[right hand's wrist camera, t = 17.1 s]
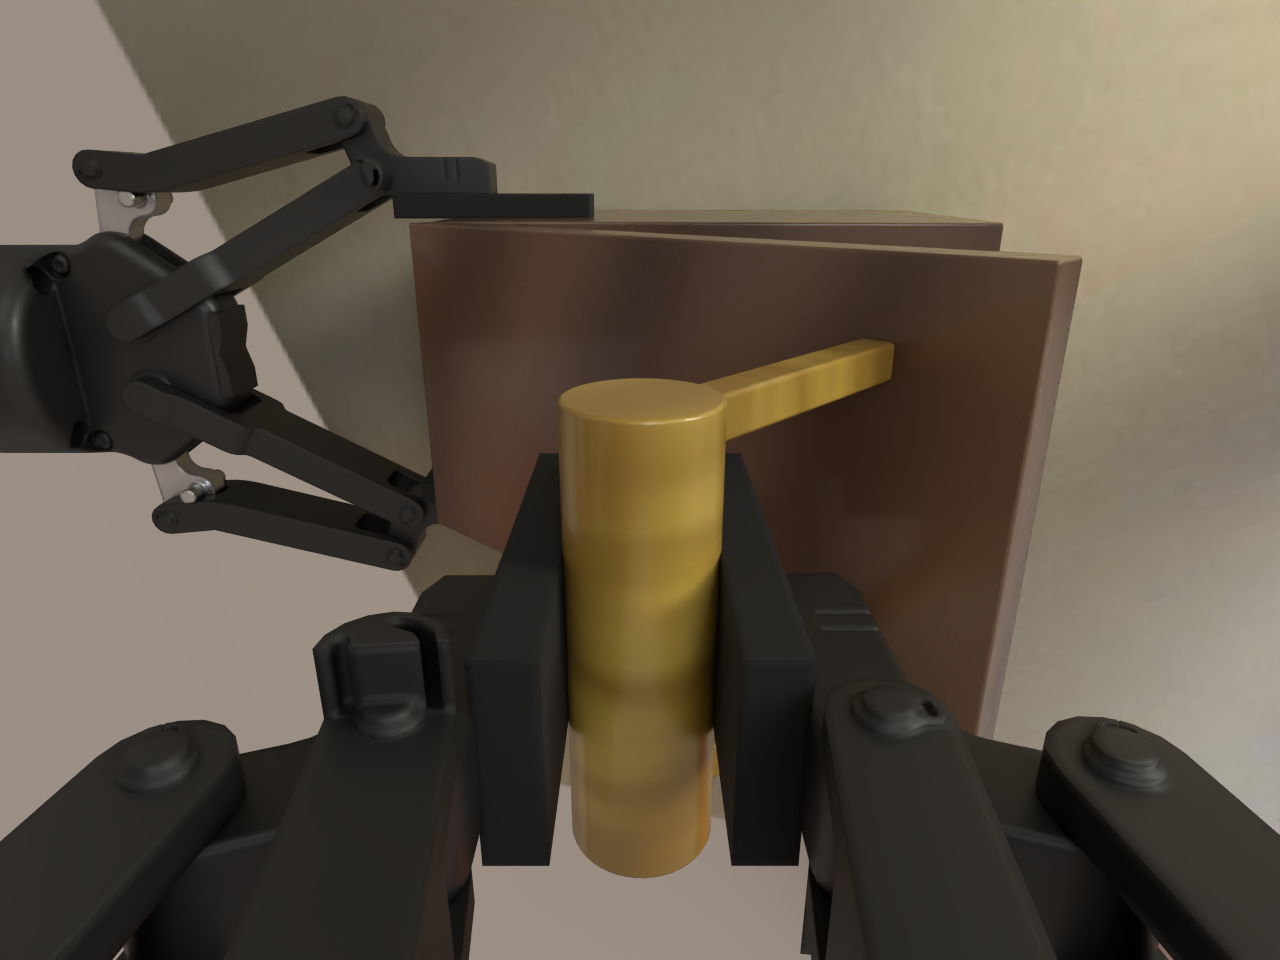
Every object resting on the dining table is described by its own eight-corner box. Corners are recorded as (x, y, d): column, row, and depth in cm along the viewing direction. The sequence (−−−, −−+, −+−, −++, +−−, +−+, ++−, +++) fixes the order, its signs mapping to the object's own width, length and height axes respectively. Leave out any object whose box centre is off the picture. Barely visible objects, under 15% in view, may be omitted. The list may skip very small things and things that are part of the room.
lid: (1084, 256, 13) (798, 319, 7) (993, 741, 16) (747, 1065, 10) (443, 221, 24) (124, 234, 18) (467, 512, 27) (203, 603, 21)
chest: (907, 210, 34) (1004, 223, 23) (883, 426, 37) (958, 522, 26) (511, 209, 35) (432, 221, 24) (522, 419, 38) (457, 510, 27)
